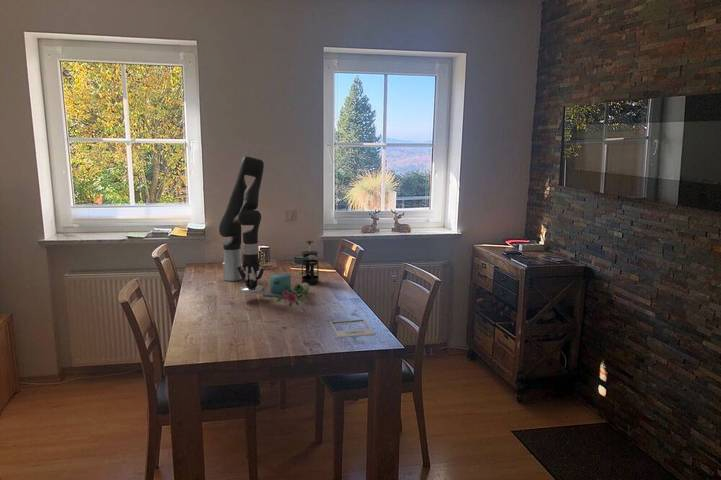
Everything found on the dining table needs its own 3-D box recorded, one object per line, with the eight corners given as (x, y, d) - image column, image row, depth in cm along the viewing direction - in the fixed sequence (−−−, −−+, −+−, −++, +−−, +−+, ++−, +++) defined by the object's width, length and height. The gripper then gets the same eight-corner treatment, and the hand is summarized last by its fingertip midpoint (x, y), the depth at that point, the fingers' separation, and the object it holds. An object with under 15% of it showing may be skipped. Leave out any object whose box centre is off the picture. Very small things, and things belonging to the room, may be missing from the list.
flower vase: (311, 307, 275) (298, 314, 240) (288, 299, 276) (273, 305, 241) (318, 285, 275) (307, 288, 240) (295, 277, 276) (281, 279, 241)
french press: (321, 284, 290) (320, 242, 286) (304, 286, 287) (303, 243, 282) (315, 279, 301) (314, 238, 296) (299, 281, 297) (298, 239, 293)
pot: (262, 296, 268) (262, 278, 267) (272, 288, 282) (271, 272, 280) (289, 297, 266) (289, 280, 264) (298, 290, 279) (297, 273, 278)
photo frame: (337, 336, 212) (330, 321, 229) (337, 338, 212) (330, 323, 229) (374, 333, 215) (363, 318, 232) (374, 335, 215) (363, 321, 232)
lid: (236, 292, 257) (235, 282, 256) (245, 286, 268) (245, 276, 267) (258, 294, 255) (258, 283, 254) (266, 287, 266) (266, 277, 265)
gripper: (233, 253, 255) (234, 288, 259) (261, 254, 253) (262, 290, 256) (240, 249, 263) (241, 284, 266) (267, 251, 260) (268, 286, 263)
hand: (251, 287), depth 261 cm, fingers closed on lid, 2 cm apart
